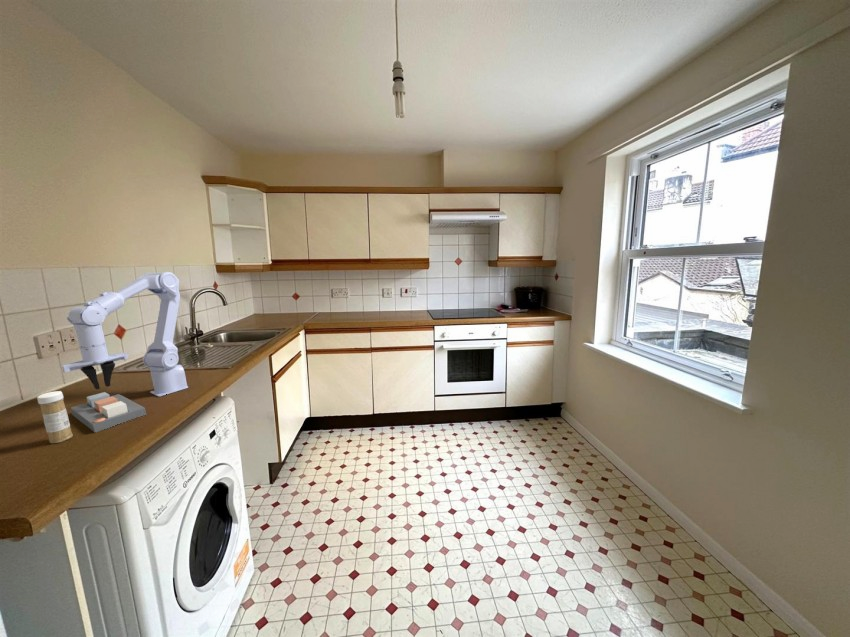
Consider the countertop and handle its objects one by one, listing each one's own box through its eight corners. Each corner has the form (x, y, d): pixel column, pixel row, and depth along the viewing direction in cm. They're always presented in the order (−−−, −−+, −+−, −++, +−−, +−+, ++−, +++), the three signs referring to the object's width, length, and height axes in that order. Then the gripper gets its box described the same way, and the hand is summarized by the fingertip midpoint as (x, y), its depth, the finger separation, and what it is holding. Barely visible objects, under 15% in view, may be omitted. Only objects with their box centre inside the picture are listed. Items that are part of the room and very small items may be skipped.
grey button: (107, 401, 113) (104, 392, 112) (111, 404, 110) (109, 394, 110) (88, 406, 109) (86, 397, 108) (93, 409, 107) (90, 399, 106)
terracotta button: (114, 406, 109) (112, 396, 108) (119, 409, 106) (117, 399, 106) (96, 411, 105) (93, 401, 104) (100, 414, 103) (98, 404, 102)
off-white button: (123, 411, 105) (120, 400, 104) (128, 414, 102) (126, 403, 102) (104, 417, 101) (101, 406, 100) (109, 420, 99) (106, 409, 98)
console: (120, 400, 117) (118, 393, 117) (146, 415, 105) (144, 407, 104) (72, 414, 107) (70, 406, 107) (95, 432, 95) (92, 423, 94)
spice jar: (60, 436, 94) (48, 391, 91) (78, 434, 94) (66, 389, 92) (44, 445, 89) (31, 398, 87) (62, 443, 90) (50, 396, 87)
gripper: (62, 353, 94) (73, 398, 96) (128, 341, 106) (136, 381, 108) (56, 350, 97) (67, 393, 100) (120, 338, 109) (128, 378, 112)
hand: (102, 387), depth 104 cm, fingers closed
